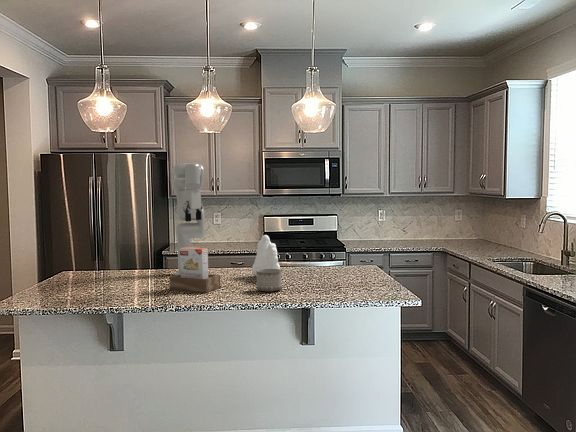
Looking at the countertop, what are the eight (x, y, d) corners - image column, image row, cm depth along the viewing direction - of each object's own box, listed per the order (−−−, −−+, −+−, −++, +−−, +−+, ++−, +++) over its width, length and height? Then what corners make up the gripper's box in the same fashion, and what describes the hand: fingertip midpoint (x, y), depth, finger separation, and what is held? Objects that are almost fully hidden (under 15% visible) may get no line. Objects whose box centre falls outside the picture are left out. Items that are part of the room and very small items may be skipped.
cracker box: (180, 287, 269) (179, 248, 267) (187, 285, 274) (186, 246, 273) (202, 289, 263) (201, 249, 261) (209, 287, 268) (208, 247, 267)
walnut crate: (185, 285, 279) (185, 272, 279) (220, 288, 271) (220, 274, 270) (170, 290, 267) (169, 277, 266) (206, 293, 258) (206, 279, 258)
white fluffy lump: (251, 275, 307) (250, 234, 305) (277, 274, 309) (276, 233, 308) (255, 283, 282) (254, 238, 280) (283, 282, 285) (283, 237, 283)
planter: (258, 293, 256) (258, 273, 255) (255, 288, 268) (254, 269, 267) (283, 292, 258) (283, 271, 258) (279, 287, 271) (278, 267, 270)
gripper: (195, 187, 275) (196, 219, 276) (176, 187, 259) (177, 221, 260) (207, 187, 272) (208, 219, 273) (189, 187, 256) (190, 221, 257)
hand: (193, 220), depth 267 cm, fingers open, 9 cm apart
